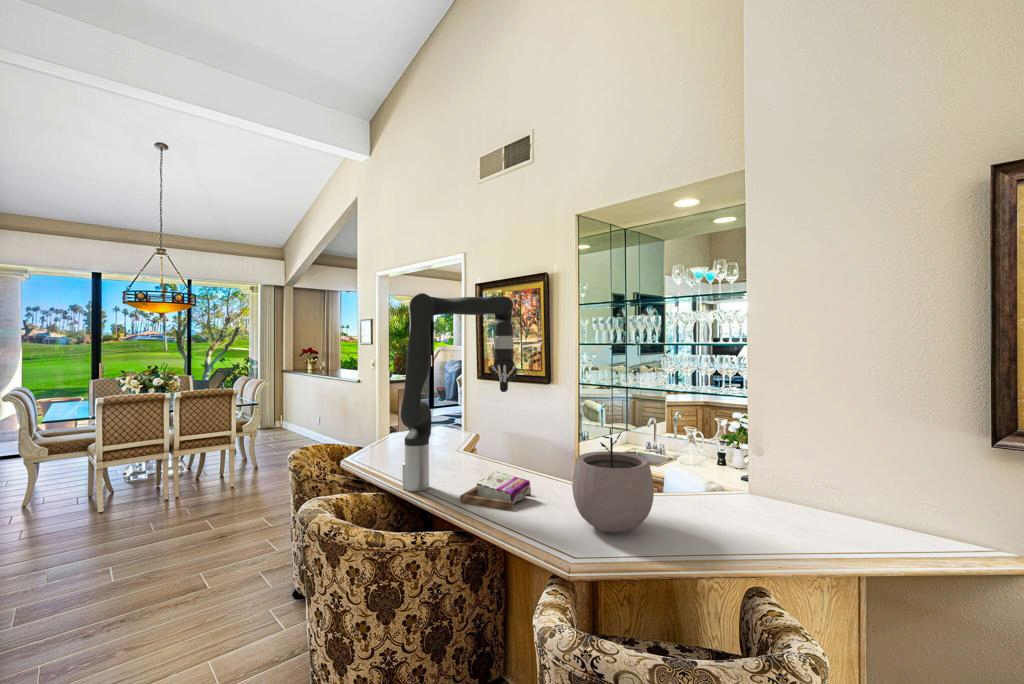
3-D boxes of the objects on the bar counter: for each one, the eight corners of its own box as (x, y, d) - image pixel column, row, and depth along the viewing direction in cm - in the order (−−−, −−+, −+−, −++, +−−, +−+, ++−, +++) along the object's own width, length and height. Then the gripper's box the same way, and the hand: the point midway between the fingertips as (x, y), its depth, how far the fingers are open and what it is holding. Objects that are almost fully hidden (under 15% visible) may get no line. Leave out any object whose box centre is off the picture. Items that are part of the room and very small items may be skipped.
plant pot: (558, 520, 148) (558, 424, 148) (623, 510, 157) (623, 420, 157) (598, 551, 126) (598, 438, 126) (672, 537, 134) (671, 432, 134)
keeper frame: (460, 502, 165) (460, 495, 165) (483, 488, 182) (483, 481, 182) (510, 510, 157) (510, 502, 157) (530, 494, 174) (530, 487, 174)
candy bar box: (531, 493, 169) (497, 482, 179) (530, 480, 168) (496, 470, 179) (511, 507, 161) (477, 495, 171) (510, 493, 160) (475, 482, 170)
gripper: (484, 347, 184) (484, 392, 184) (515, 347, 179) (515, 393, 178) (493, 347, 191) (493, 390, 191) (523, 347, 185) (523, 391, 185)
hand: (504, 391), depth 185 cm, fingers closed
